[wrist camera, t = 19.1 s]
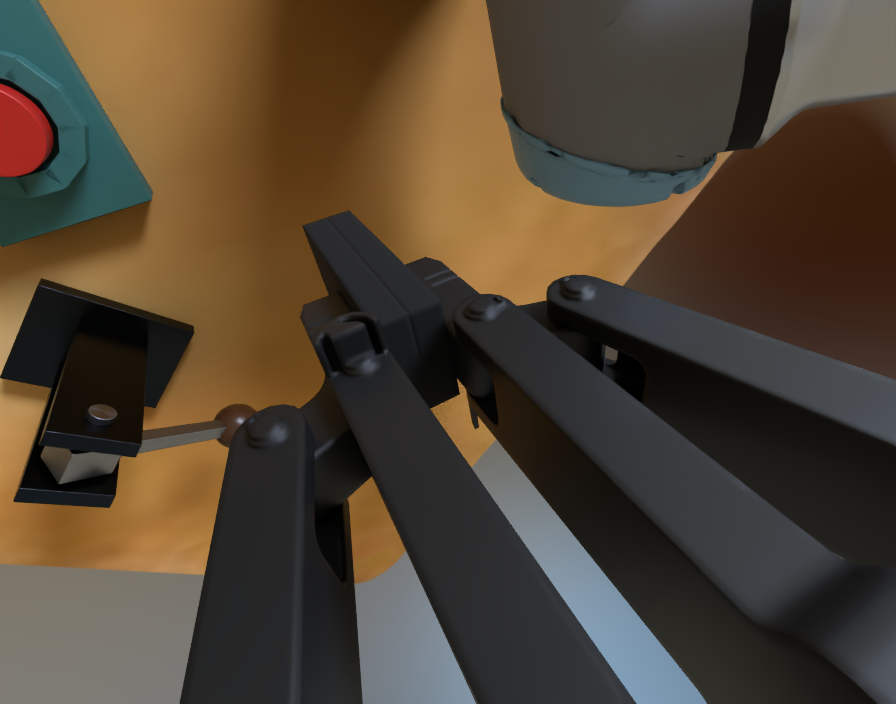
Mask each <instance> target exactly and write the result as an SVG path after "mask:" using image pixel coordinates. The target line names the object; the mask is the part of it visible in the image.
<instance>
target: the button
mask: <svg viewBox="0 0 896 704" xmlns="http://www.w3.org/2000/svg"><path fill="white" fill-rule="evenodd" d="M52 148H53V132H52V129H51V126H50V124H49V122H48V120H47V118H46V117H45V115H44V114H43V112H42V111H41V110H40V109H39V108H38V107H37V106H36V104H34V103H33V102H32V101H31V100H30V99H29V98H27V97H26V96H25V95H23V94H22V93H20V92H18V91H17V90H15V89H13V88H11V87H9V86H6V85H4V84H1V83H0V177H17V176H22V175H25V174H28V173H30V172H32V171H34V170H35V169H36V168H38V167H39V166H40V165H41V164H42V163H43V162H44V161H45V160H46V159H47V158H48V156H49V155H50V153H51V151H52Z"/></svg>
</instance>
